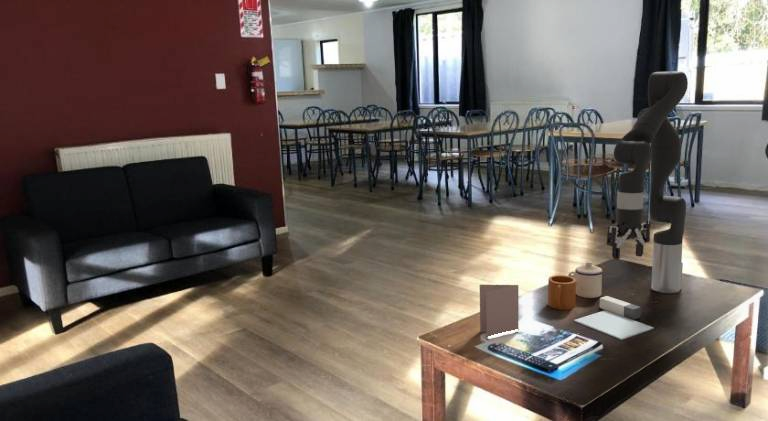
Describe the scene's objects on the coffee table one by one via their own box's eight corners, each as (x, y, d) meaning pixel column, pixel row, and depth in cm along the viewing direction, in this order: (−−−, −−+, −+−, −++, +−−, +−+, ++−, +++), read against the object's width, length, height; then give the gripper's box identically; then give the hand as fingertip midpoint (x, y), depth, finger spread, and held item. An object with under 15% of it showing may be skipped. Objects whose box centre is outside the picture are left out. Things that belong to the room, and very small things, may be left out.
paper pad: (605, 311, 205) (605, 310, 205) (653, 328, 190) (653, 327, 189) (574, 321, 198) (574, 319, 198) (621, 339, 183) (621, 338, 183)
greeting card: (518, 331, 192) (518, 284, 189) (519, 341, 185) (519, 292, 182) (480, 330, 194) (479, 283, 191) (479, 340, 187) (479, 291, 184)
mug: (539, 309, 209) (539, 283, 207) (554, 298, 218) (554, 273, 217) (565, 314, 204) (565, 287, 202) (579, 303, 213) (580, 277, 211)
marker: (597, 306, 209) (597, 297, 209) (604, 304, 211) (604, 295, 210) (633, 319, 197) (633, 309, 196) (640, 317, 199) (640, 307, 198)
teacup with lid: (606, 293, 222) (607, 260, 219) (595, 300, 215) (596, 267, 213) (573, 286, 230) (574, 255, 227) (562, 293, 223) (562, 261, 221)
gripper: (640, 202, 200) (637, 252, 203) (602, 206, 195) (600, 257, 198) (657, 206, 193) (654, 258, 196) (619, 210, 188) (616, 262, 191)
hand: (627, 257), depth 197 cm, fingers open, 8 cm apart
